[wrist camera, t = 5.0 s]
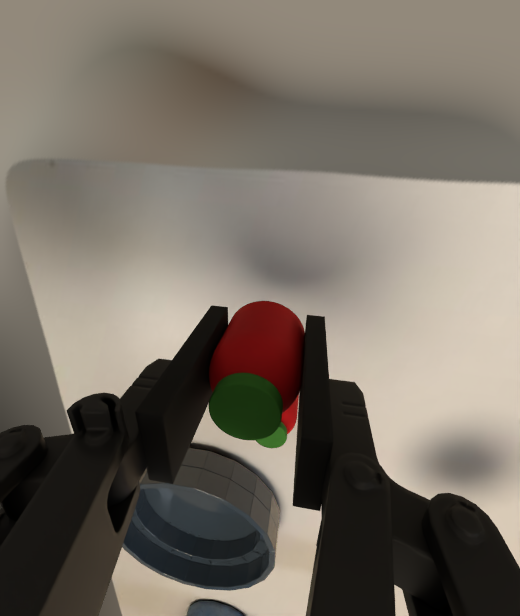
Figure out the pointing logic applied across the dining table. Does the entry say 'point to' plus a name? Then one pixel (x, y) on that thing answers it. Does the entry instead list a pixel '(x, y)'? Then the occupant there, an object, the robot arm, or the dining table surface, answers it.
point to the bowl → (206, 524)
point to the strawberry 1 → (256, 370)
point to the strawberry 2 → (282, 428)
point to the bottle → (211, 609)
